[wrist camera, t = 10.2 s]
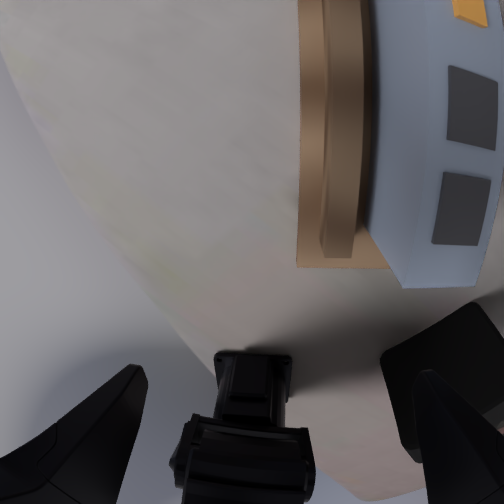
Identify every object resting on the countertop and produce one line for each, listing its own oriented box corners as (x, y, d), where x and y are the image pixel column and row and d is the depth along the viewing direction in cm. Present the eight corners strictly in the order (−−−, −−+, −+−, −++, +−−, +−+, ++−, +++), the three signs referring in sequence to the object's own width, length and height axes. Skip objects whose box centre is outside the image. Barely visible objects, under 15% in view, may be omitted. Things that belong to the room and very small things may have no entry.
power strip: (420, 227, 17) (478, 291, 11) (363, 224, 18) (405, 293, 11) (429, 13, 11) (499, -19, 4) (368, -2, 11) (417, -55, 5)
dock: (451, 262, 19) (472, 287, 16) (296, 260, 20) (299, 289, 17) (466, -2, 10) (493, -13, 7) (295, -41, 11) (297, -67, 8)
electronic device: (377, 354, 24) (403, 454, 15) (474, 297, 20) (530, 380, 11) (391, 377, 25) (414, 467, 16) (479, 326, 22) (525, 405, 13)
